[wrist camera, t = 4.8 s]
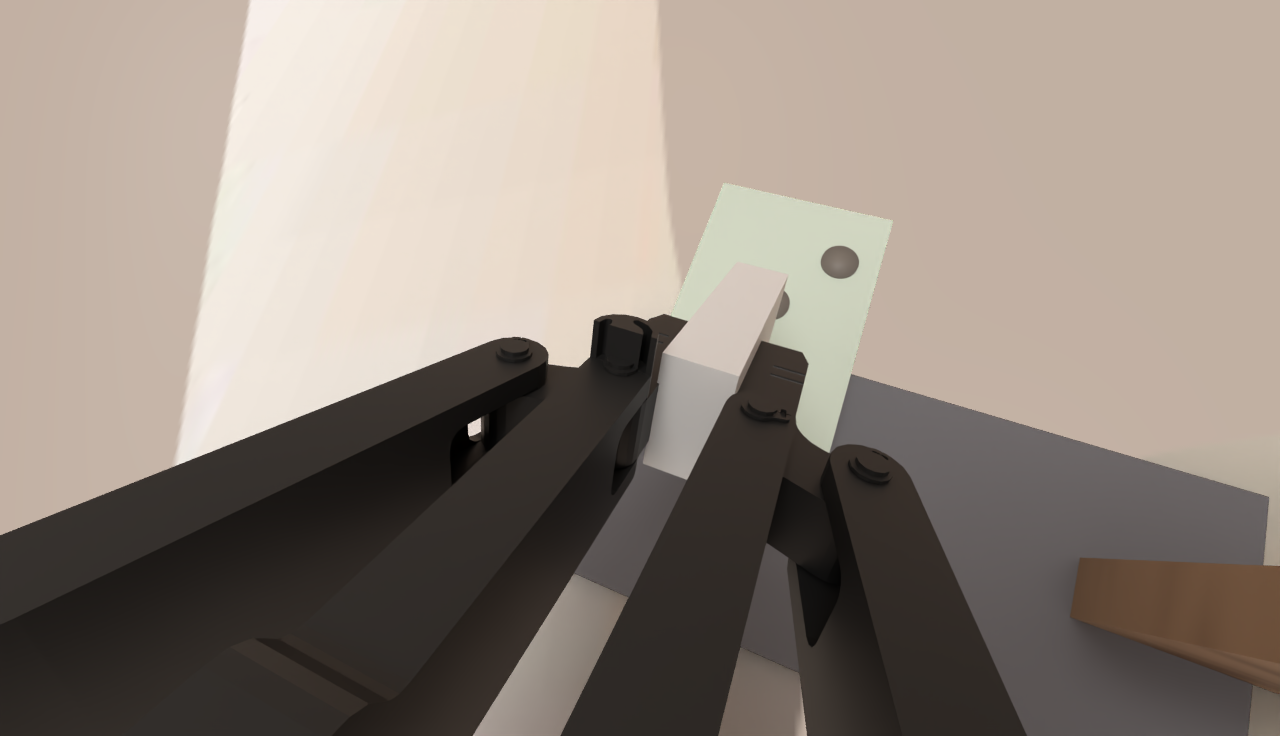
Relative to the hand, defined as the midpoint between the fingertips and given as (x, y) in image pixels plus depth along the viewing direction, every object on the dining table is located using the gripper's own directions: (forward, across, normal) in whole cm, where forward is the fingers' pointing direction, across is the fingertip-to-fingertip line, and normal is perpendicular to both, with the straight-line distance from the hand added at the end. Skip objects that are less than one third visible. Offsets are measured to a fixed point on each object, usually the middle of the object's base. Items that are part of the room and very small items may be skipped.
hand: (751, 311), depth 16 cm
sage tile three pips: (+2, 0, -6) cm, 6 cm away
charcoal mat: (+2, +6, -8) cm, 10 cm away
